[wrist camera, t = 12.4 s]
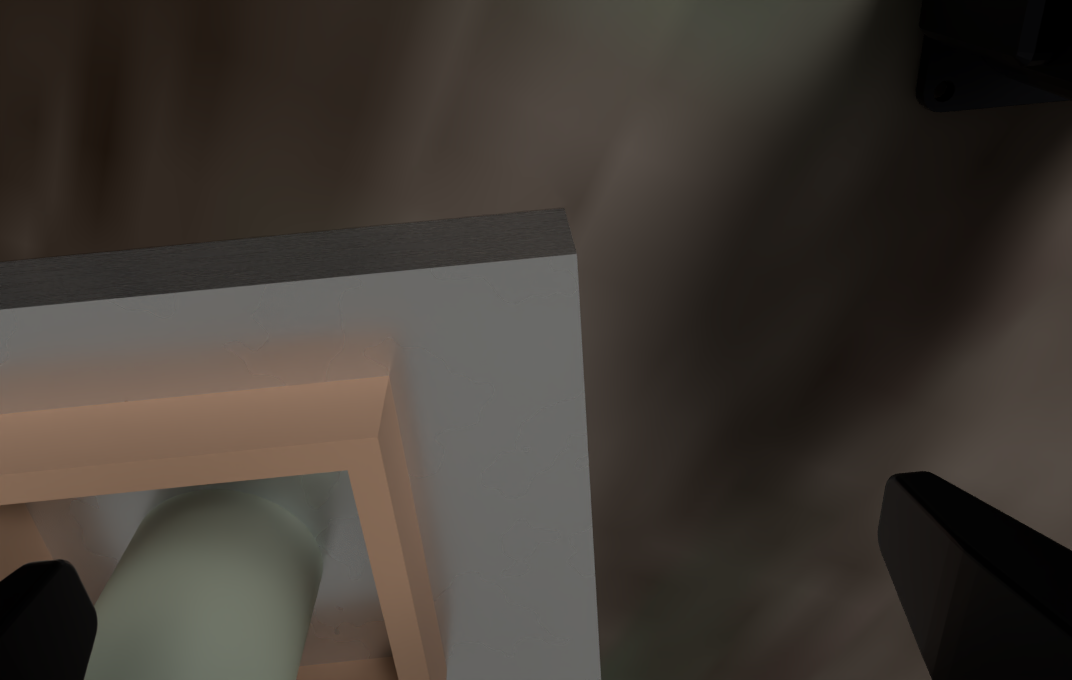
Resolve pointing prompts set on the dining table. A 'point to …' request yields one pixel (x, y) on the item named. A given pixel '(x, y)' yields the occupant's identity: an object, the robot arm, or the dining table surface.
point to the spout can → (209, 593)
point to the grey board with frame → (327, 428)
